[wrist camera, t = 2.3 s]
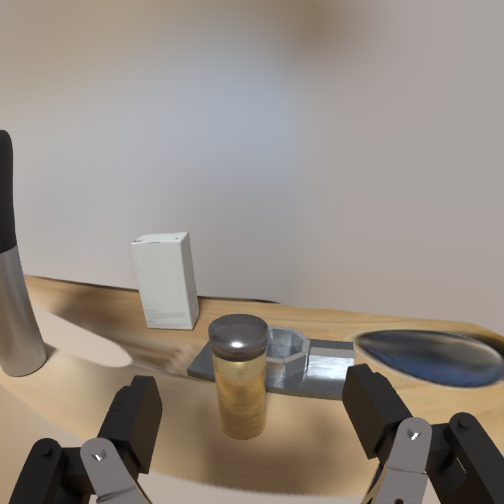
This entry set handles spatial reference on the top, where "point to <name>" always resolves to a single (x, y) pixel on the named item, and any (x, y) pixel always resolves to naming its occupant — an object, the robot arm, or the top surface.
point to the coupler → (240, 373)
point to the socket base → (294, 364)
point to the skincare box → (166, 280)
